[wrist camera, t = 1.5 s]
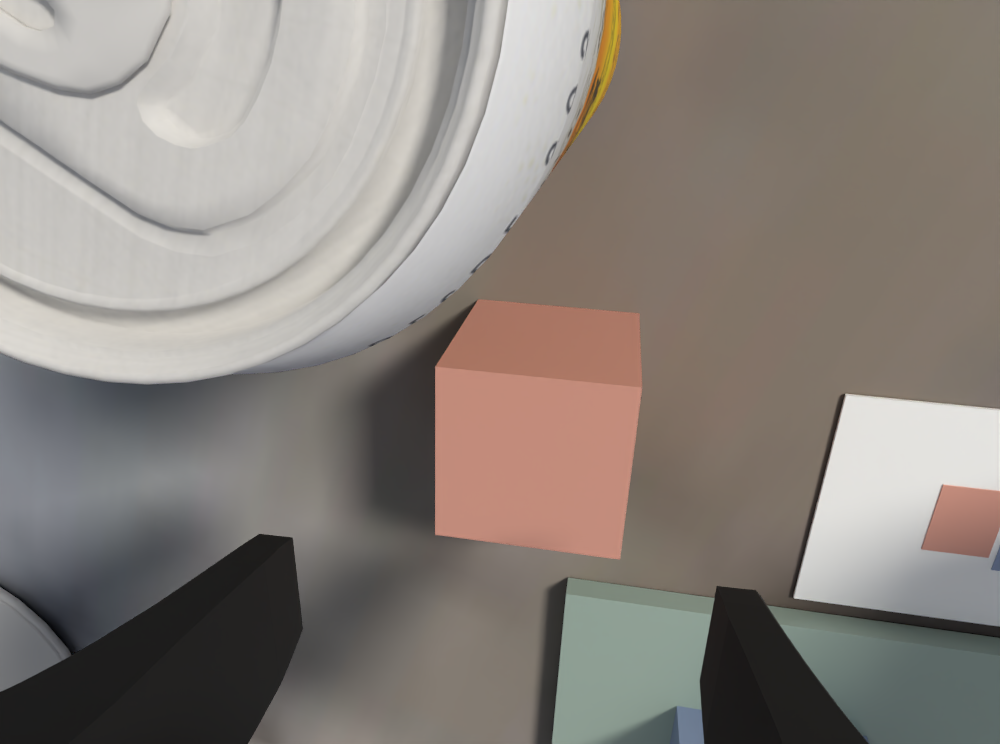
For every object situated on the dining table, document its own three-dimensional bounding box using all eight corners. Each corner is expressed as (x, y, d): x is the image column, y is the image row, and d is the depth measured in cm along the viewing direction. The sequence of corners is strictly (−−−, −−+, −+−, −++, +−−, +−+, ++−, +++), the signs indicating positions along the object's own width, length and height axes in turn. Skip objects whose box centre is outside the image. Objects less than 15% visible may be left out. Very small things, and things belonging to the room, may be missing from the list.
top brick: (639, 312, 20) (642, 387, 15) (621, 454, 21) (619, 559, 17) (478, 298, 20) (435, 367, 16) (474, 437, 22) (434, 534, 18)
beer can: (547, 206, 19) (334, 575, 5) (341, 95, 19) (-445, 183, 5) (671, -32, 16) (883, -521, 3) (433, -164, 16) (-662, -1433, 2)
